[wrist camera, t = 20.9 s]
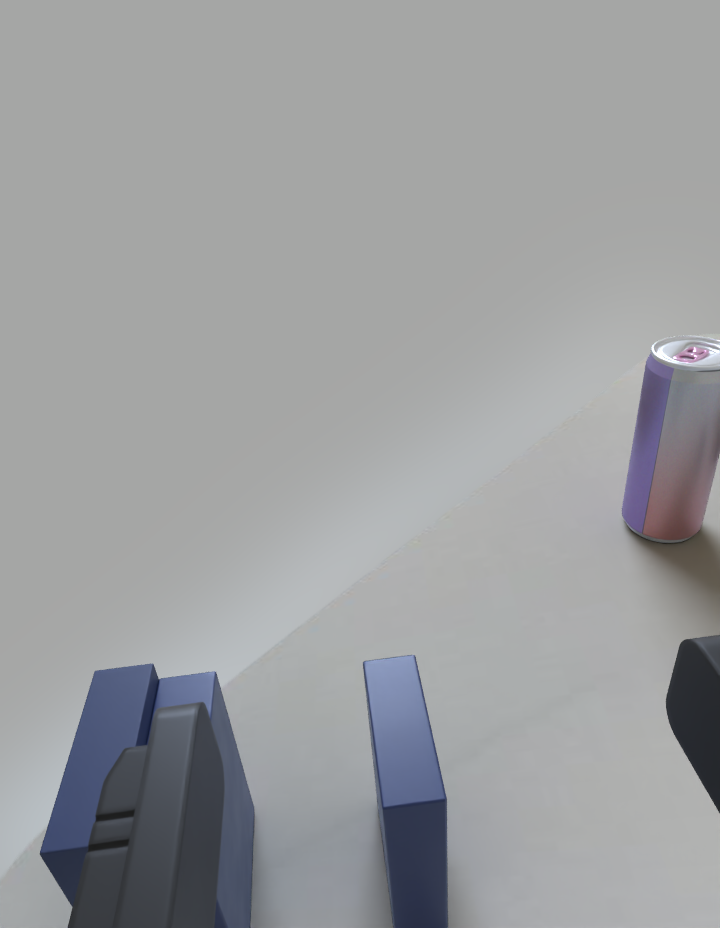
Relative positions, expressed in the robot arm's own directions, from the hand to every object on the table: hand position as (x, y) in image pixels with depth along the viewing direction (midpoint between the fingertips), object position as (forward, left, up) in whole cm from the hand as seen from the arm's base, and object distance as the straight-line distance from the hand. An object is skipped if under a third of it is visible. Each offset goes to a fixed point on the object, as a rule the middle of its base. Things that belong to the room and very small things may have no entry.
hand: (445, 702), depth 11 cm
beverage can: (+40, -12, -25) cm, 49 cm away
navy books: (+6, +13, -25) cm, 29 cm away
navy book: (+10, +3, -25) cm, 27 cm away
